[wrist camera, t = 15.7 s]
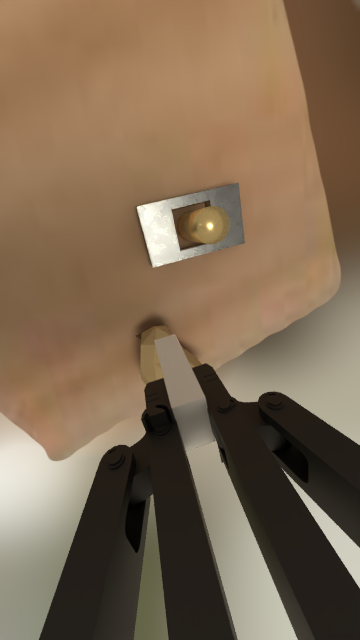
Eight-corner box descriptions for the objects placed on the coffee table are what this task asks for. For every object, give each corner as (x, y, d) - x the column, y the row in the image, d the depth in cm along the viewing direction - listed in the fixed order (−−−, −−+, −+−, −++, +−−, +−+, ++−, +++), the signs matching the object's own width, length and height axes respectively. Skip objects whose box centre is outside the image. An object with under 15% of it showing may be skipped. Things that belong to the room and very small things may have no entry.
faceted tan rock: (191, 378, 50) (225, 350, 43) (175, 423, 42) (214, 398, 35) (134, 337, 49) (159, 302, 41) (105, 376, 40) (131, 340, 33)
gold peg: (180, 243, 39) (199, 248, 29) (174, 215, 38) (192, 210, 28) (205, 237, 40) (231, 239, 30) (200, 209, 38) (227, 202, 28)
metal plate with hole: (151, 265, 40) (153, 267, 37) (135, 208, 36) (136, 206, 34) (238, 242, 41) (244, 242, 39) (231, 185, 38) (238, 182, 36)
